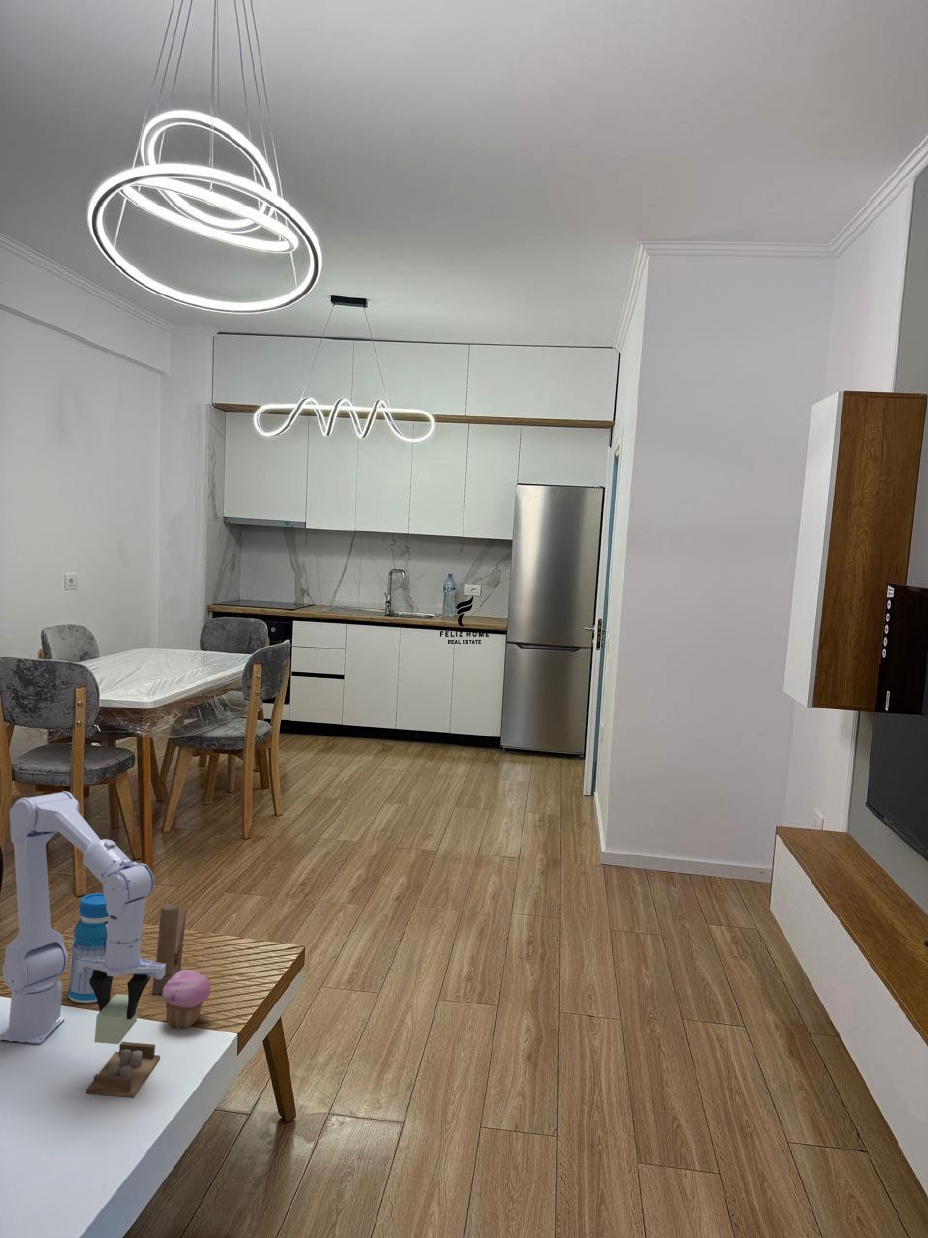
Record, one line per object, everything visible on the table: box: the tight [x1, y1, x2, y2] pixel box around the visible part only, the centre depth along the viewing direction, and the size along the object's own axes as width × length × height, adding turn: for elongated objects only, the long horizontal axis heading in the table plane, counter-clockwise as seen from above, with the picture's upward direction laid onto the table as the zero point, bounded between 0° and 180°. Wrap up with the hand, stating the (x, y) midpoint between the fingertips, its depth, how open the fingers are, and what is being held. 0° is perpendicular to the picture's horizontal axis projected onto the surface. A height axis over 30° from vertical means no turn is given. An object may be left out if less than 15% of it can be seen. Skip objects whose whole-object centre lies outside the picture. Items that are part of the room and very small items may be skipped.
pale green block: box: [94, 993, 139, 1045], centre depth 144 cm, size 8×4×4 cm, turn 0°
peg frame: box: [85, 1041, 161, 1098], centre depth 144 cm, size 12×8×3 cm, turn 0°
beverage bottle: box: [67, 892, 112, 1004], centre depth 171 cm, size 8×8×20 cm
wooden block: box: [151, 903, 187, 995], centre depth 179 cm, size 4×11×18 cm, turn 7°
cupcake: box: [161, 969, 211, 1029], centre depth 163 cm, size 9×9×10 cm
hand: (117, 1015), depth 144 cm, fingers closed on pale green block, 4 cm apart
